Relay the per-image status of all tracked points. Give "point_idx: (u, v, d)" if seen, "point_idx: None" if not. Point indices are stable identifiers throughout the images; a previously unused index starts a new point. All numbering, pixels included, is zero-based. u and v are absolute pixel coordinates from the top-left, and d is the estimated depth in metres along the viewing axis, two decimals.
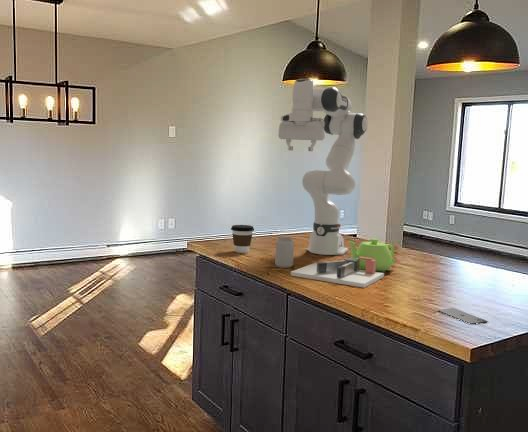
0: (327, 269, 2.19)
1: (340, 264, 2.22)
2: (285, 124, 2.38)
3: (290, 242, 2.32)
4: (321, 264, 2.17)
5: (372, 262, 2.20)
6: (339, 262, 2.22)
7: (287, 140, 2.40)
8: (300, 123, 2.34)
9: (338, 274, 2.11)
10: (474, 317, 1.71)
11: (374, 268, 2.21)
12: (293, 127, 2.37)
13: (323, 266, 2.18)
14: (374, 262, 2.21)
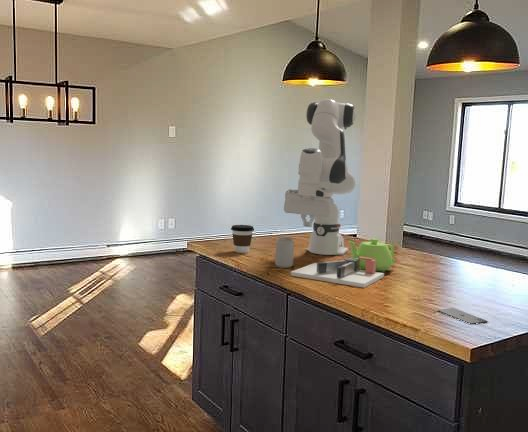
0: (327, 269, 2.19)
1: (340, 264, 2.22)
2: None
3: (290, 242, 2.32)
4: (321, 264, 2.17)
5: (372, 262, 2.20)
6: (339, 262, 2.22)
7: None
8: None
9: (338, 274, 2.11)
10: (474, 317, 1.71)
11: (374, 268, 2.21)
12: None
13: (323, 266, 2.18)
14: (374, 262, 2.21)
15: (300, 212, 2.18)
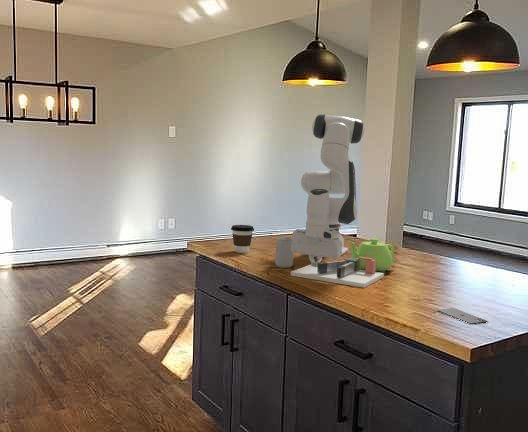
0: (328, 269, 2.19)
1: (340, 264, 2.22)
2: None
3: (290, 242, 2.32)
4: (322, 264, 2.17)
5: (372, 262, 2.20)
6: (339, 262, 2.22)
7: None
8: None
9: (338, 274, 2.11)
10: (474, 317, 1.71)
11: (374, 268, 2.21)
12: None
13: (324, 266, 2.17)
14: (374, 262, 2.21)
15: (308, 253, 2.18)
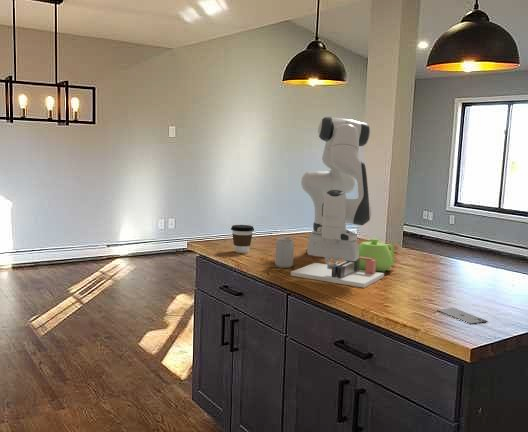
0: None
1: None
2: None
3: (290, 242, 2.32)
4: (336, 267, 2.12)
5: (372, 262, 2.20)
6: (344, 263, 2.20)
7: None
8: None
9: (338, 274, 2.11)
10: (474, 317, 1.71)
11: (374, 268, 2.21)
12: None
13: None
14: (374, 262, 2.21)
15: (324, 255, 2.15)
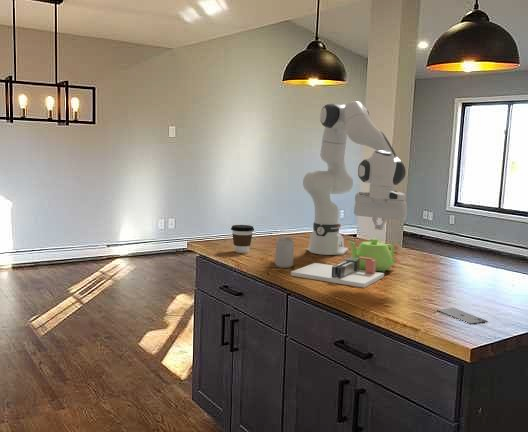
0: None
1: None
2: None
3: (290, 242, 2.32)
4: (336, 267, 2.12)
5: (372, 262, 2.20)
6: (344, 263, 2.20)
7: None
8: None
9: (338, 274, 2.11)
10: (474, 317, 1.71)
11: (374, 268, 2.21)
12: None
13: None
14: (374, 262, 2.21)
15: (371, 215, 2.16)
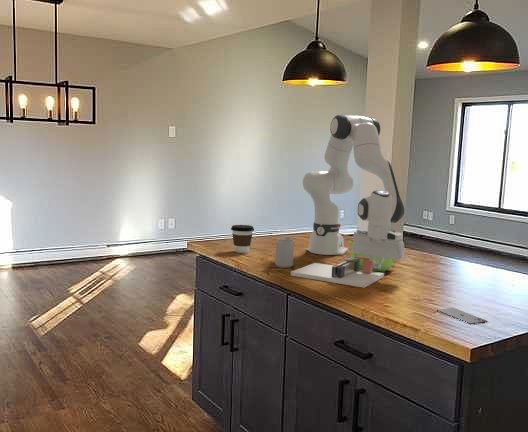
0: None
1: None
2: None
3: (290, 242, 2.32)
4: (336, 267, 2.12)
5: (369, 262, 2.21)
6: (344, 263, 2.20)
7: None
8: None
9: (338, 274, 2.11)
10: (474, 317, 1.71)
11: (371, 268, 2.22)
12: None
13: None
14: (371, 262, 2.21)
15: (369, 254, 2.20)
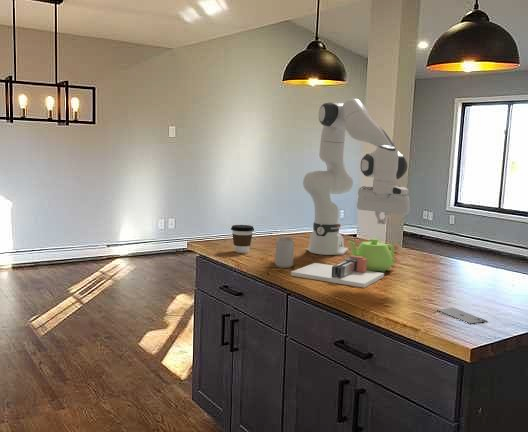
0: None
1: None
2: None
3: (290, 242, 2.32)
4: (336, 267, 2.12)
5: (363, 261, 2.22)
6: (344, 263, 2.20)
7: None
8: None
9: (338, 274, 2.11)
10: (474, 317, 1.71)
11: (365, 267, 2.23)
12: None
13: None
14: (365, 261, 2.23)
15: (375, 209, 2.17)
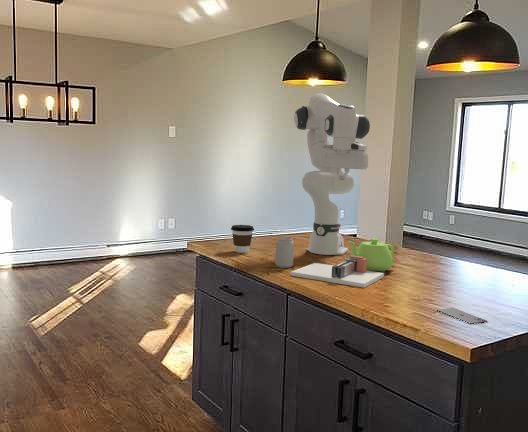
0: None
1: None
2: None
3: (290, 242, 2.32)
4: (336, 267, 2.12)
5: (363, 261, 2.22)
6: (344, 263, 2.20)
7: None
8: None
9: (338, 274, 2.11)
10: (474, 317, 1.71)
11: (365, 267, 2.23)
12: None
13: None
14: (365, 261, 2.23)
15: (335, 166, 2.28)
